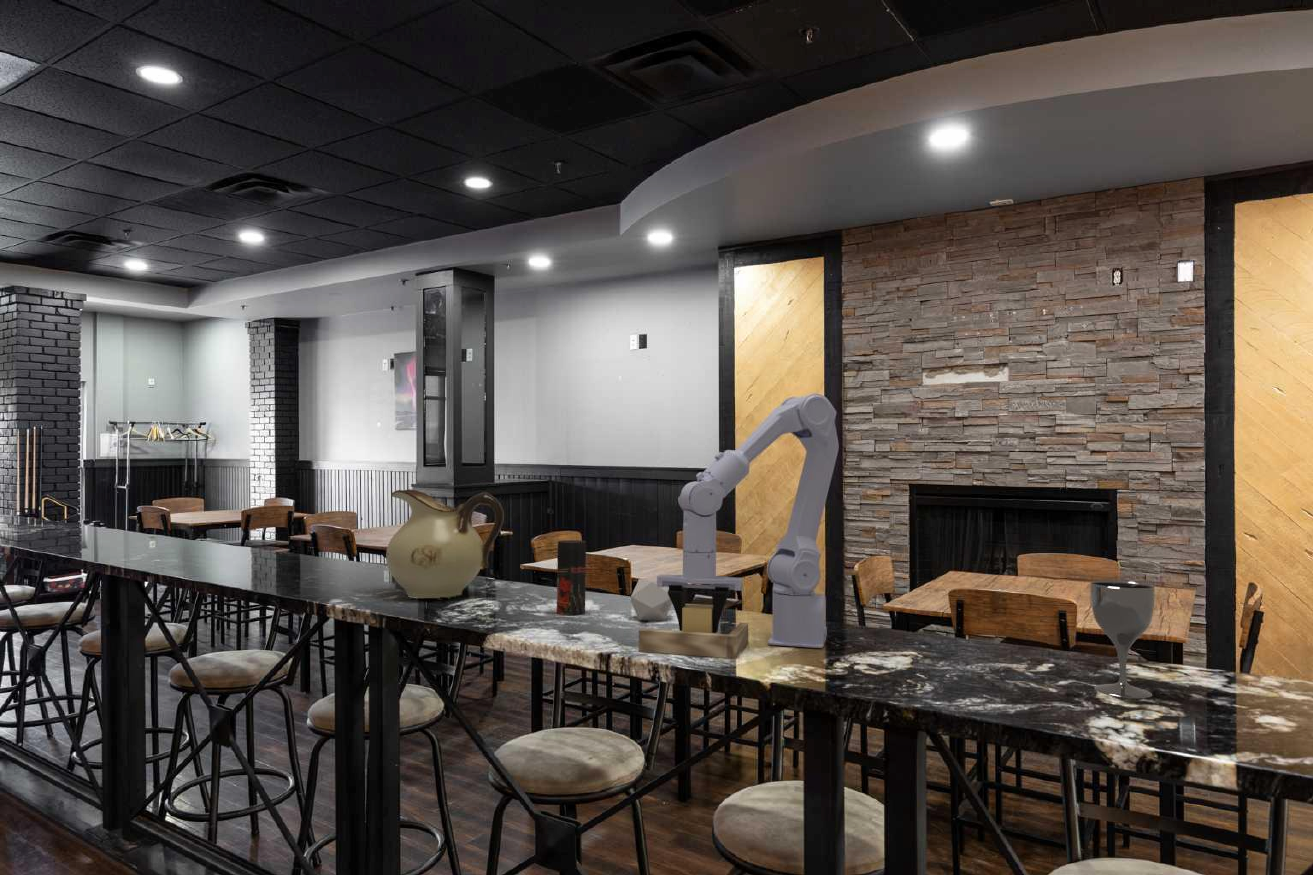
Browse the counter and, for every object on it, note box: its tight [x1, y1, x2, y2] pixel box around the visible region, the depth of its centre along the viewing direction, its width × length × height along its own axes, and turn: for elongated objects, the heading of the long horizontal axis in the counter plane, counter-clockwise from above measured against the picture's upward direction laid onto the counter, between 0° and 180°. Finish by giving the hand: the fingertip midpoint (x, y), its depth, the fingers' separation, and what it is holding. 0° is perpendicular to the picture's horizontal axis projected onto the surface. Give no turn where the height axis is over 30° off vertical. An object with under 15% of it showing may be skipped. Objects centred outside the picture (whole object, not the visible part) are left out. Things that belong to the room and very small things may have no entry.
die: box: [630, 578, 673, 621], centre depth 167 cm, size 8×9×10 cm
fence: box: [638, 622, 749, 659], centre depth 141 cm, size 16×12×4 cm
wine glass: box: [1089, 579, 1156, 699], centre depth 116 cm, size 8×8×15 cm
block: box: [682, 603, 717, 634], centre depth 141 cm, size 5×5×6 cm
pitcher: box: [385, 488, 505, 598], centre depth 194 cm, size 22×24×25 cm
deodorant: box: [556, 539, 587, 616], centre depth 173 cm, size 6×6×15 cm
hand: (698, 630), depth 141 cm, fingers closed on block, 5 cm apart
